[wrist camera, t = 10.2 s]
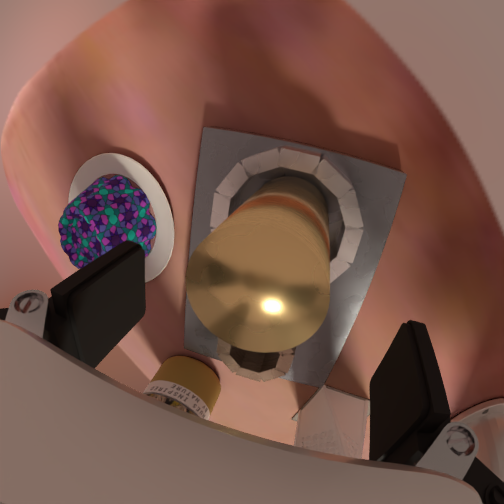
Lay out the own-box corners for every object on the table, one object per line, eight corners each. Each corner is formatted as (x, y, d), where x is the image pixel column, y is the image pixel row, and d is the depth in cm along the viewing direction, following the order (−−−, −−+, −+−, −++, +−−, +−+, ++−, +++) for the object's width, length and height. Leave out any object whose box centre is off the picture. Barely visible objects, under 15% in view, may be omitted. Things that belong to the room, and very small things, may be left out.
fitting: (337, 188, 18) (351, 249, 9) (316, 260, 20) (303, 366, 11) (259, 167, 18) (194, 206, 9) (243, 240, 21) (180, 328, 12)
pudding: (206, 244, 24) (176, 275, 19) (121, 297, 29) (91, 327, 24) (124, 122, 21) (79, 127, 16) (57, 202, 26) (20, 219, 21)
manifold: (401, 170, 18) (417, 181, 14) (323, 376, 26) (319, 409, 22) (211, 126, 20) (186, 128, 16) (190, 338, 28) (172, 366, 24)
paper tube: (157, 347, 30) (23, 540, 8) (217, 357, 28) (95, 592, 6) (172, 390, 32) (71, 561, 10) (227, 400, 31) (137, 598, 9)
